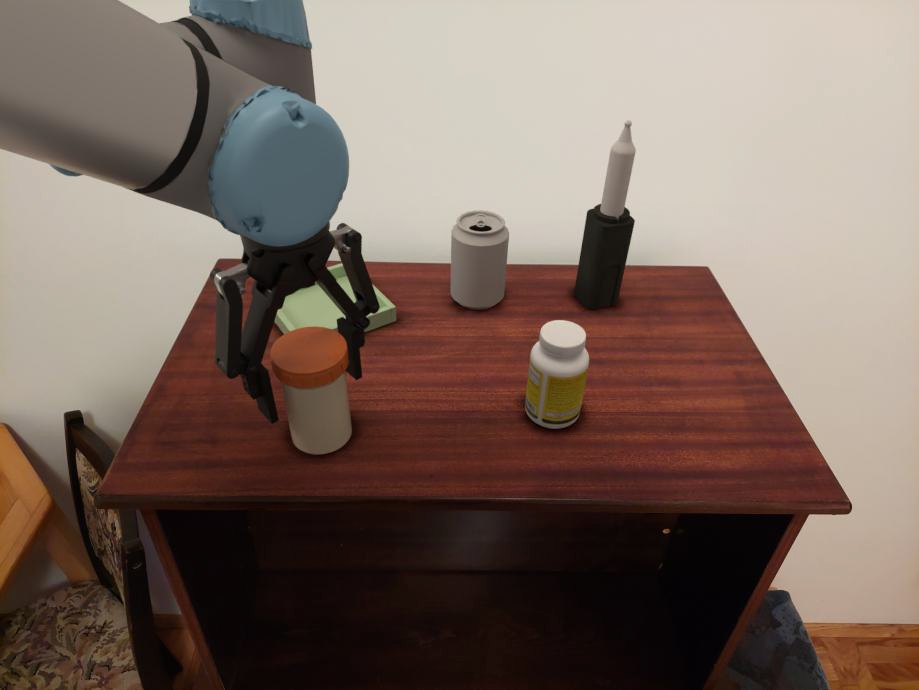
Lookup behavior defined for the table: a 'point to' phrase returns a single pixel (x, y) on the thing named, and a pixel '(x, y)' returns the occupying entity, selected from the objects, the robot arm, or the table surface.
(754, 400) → the table surface
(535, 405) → the pill bottle
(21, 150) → the robot arm
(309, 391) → the jar
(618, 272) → the candle
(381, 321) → the tray
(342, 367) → the lid
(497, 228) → the can
